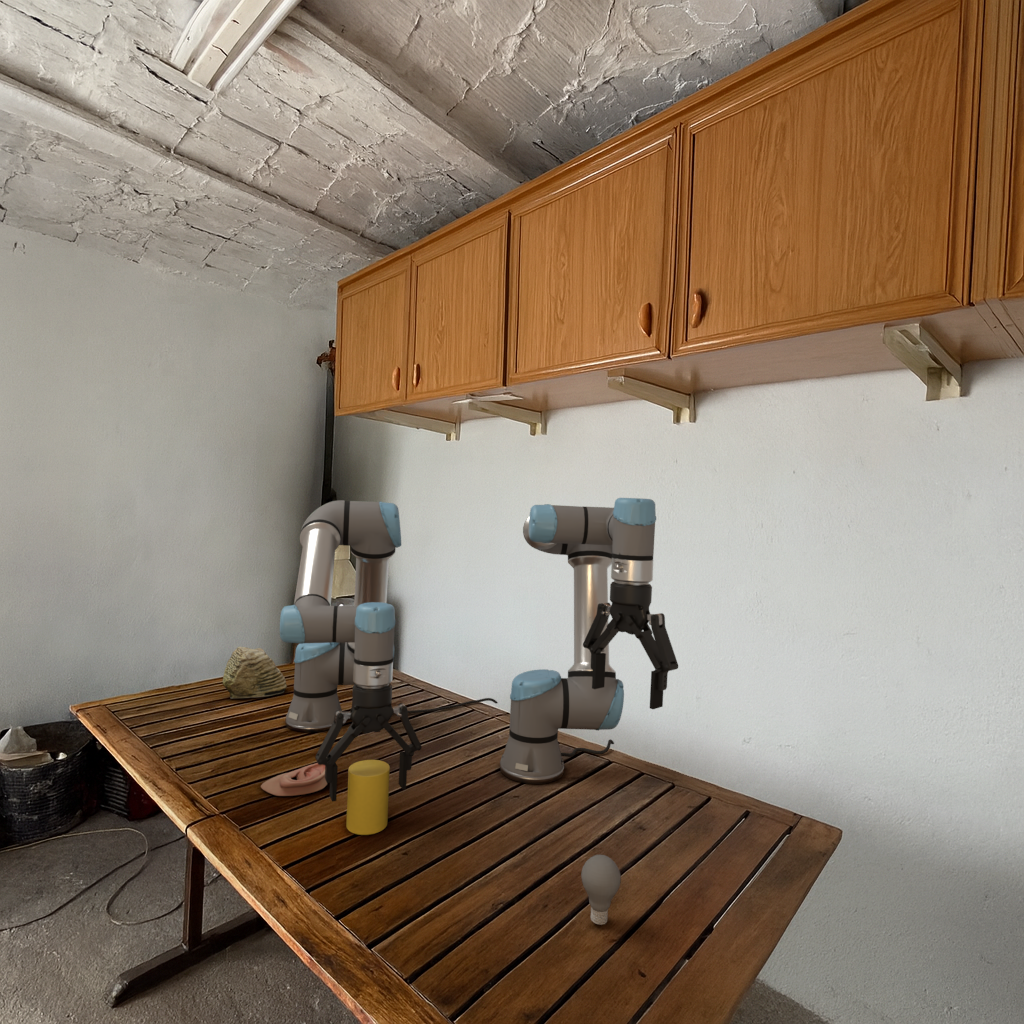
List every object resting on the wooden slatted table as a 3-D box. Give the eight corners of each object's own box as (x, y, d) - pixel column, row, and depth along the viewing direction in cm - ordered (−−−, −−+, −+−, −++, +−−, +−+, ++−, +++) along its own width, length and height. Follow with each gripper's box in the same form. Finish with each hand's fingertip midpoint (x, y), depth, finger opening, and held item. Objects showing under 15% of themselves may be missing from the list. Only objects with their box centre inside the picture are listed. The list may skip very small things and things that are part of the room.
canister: (364, 810, 129) (366, 756, 129) (395, 820, 125) (397, 765, 125) (337, 827, 122) (339, 770, 122) (369, 839, 118) (372, 780, 118)
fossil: (218, 695, 195) (220, 647, 195) (278, 685, 208) (279, 640, 207) (228, 703, 189) (230, 653, 188) (289, 692, 201) (290, 645, 201)
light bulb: (576, 909, 100) (578, 846, 100) (613, 909, 101) (616, 846, 100) (583, 935, 94) (586, 869, 94) (622, 935, 95) (626, 868, 94)
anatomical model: (253, 773, 134) (283, 753, 145) (252, 792, 134) (282, 770, 145) (310, 782, 131) (336, 760, 142) (309, 801, 131) (335, 777, 143)
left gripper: (309, 695, 114) (304, 812, 114) (440, 682, 125) (435, 789, 125) (302, 684, 121) (298, 794, 121) (427, 673, 132) (423, 774, 132)
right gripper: (568, 574, 123) (563, 683, 123) (676, 592, 104) (670, 721, 104) (594, 573, 128) (589, 677, 128) (702, 590, 109) (696, 712, 109)
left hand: (368, 792), depth 123 cm, fingers open, 13 cm apart
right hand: (625, 697), depth 116 cm, fingers open, 13 cm apart
